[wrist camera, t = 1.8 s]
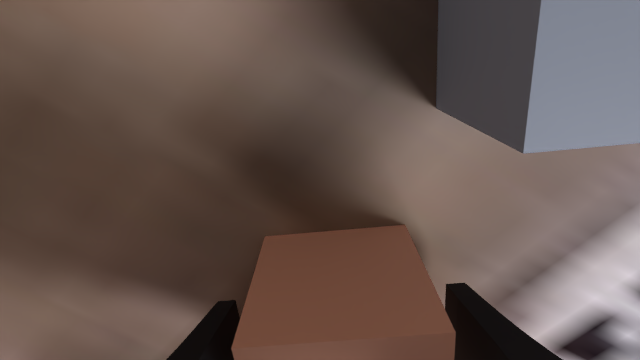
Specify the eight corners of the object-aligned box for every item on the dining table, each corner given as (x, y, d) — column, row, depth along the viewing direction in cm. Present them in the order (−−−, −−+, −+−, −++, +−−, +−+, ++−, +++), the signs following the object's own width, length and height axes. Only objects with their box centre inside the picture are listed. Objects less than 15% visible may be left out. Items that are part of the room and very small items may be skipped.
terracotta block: (405, 332, 14) (447, 474, 9) (283, 340, 14) (265, 484, 10) (404, 223, 12) (455, 332, 8) (265, 235, 12) (231, 348, 8)
